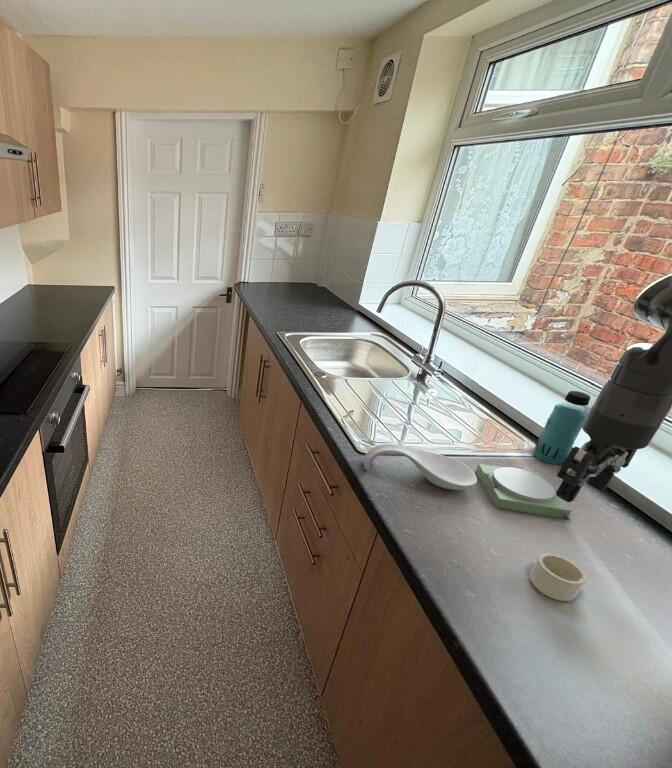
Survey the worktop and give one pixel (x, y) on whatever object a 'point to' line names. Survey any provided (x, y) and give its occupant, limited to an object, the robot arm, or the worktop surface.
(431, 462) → the spoon rest
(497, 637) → the worktop surface
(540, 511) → the scale
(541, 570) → the bowl
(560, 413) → the beverage bottle
